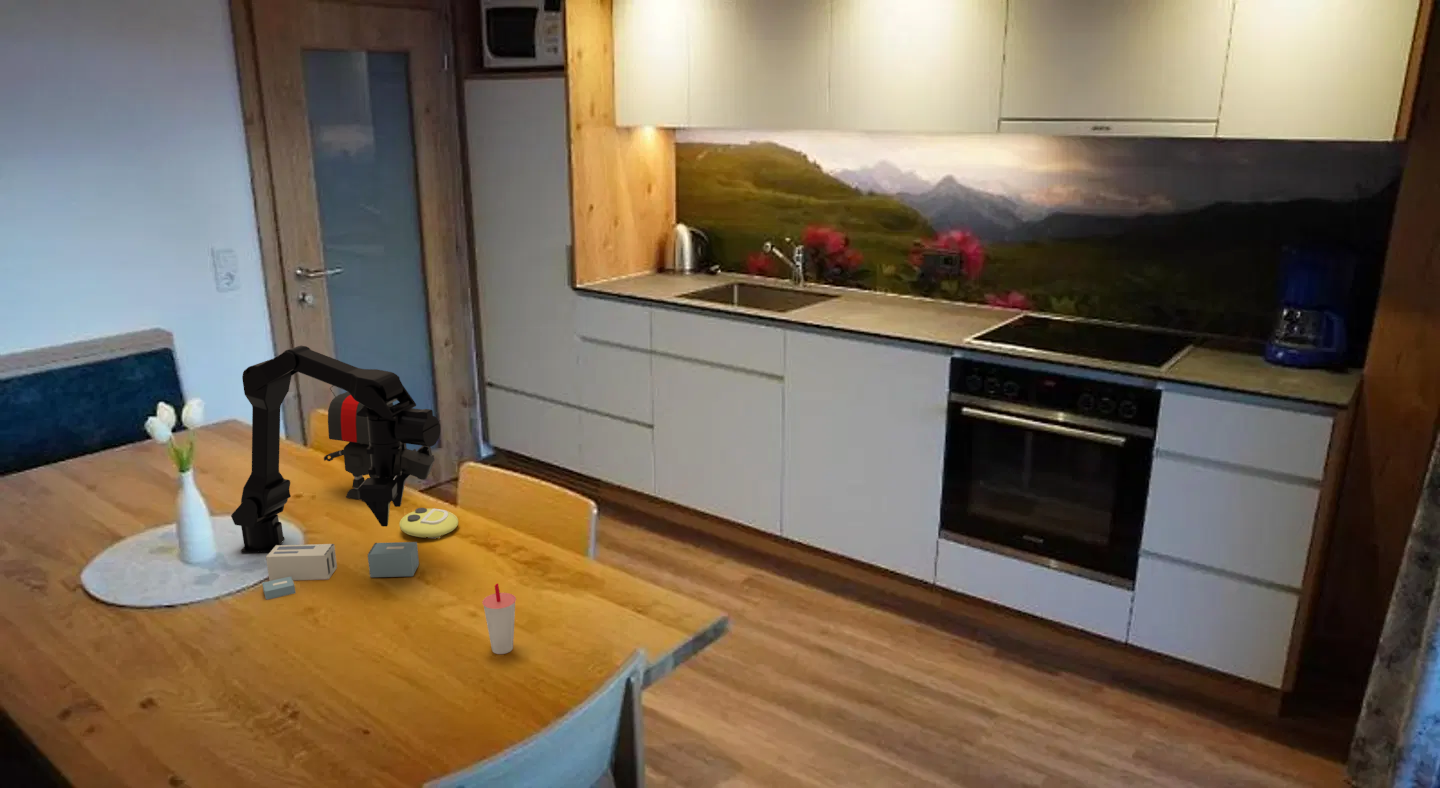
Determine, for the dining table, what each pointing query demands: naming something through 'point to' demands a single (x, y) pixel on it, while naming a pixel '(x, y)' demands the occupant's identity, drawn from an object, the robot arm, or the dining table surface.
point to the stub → (393, 559)
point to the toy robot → (350, 438)
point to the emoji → (428, 523)
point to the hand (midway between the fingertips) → (391, 516)
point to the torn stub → (278, 588)
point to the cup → (500, 620)
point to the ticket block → (302, 562)
